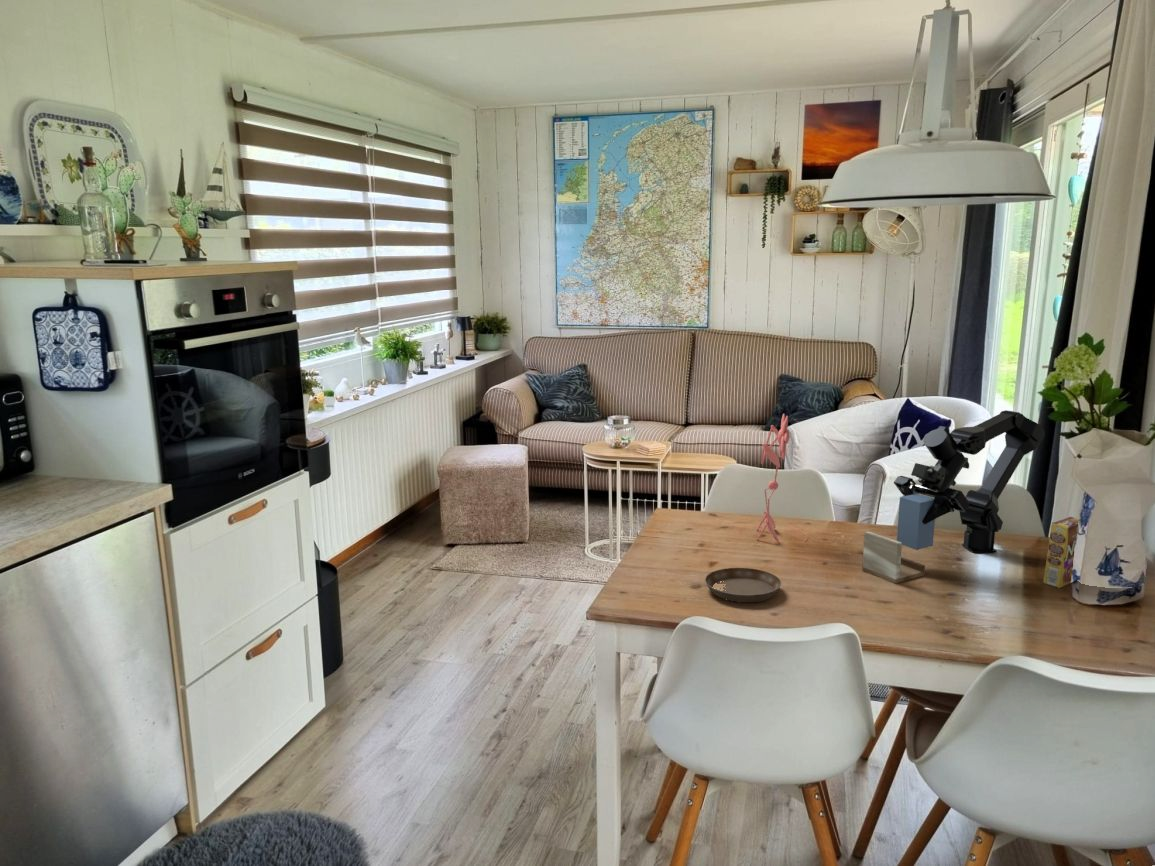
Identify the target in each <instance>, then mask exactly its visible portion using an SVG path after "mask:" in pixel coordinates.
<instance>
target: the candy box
mask: <svg viewBox="0 0 1155 866" xmlns="http://www.w3.org/2000/svg"><path fill="white" fill-rule="evenodd" d="M1079 519H1080V518H1078V517H1073V516H1069V517H1066V518H1064V519H1063V518H1062V519H1061V520H1058V521H1055V522H1051V523H1050V532H1049V539H1048V540H1049V541H1048V546H1047V555H1046V562H1045V569H1044V575H1043V584H1045V585H1049V586H1052V587H1054V588H1058V589H1060V588H1063V587H1066V586H1068V585H1070V584H1071V583H1070V581H1071V574H1072V568H1073V558H1074V548H1075V540H1076V535H1077V529H1078V521H1079Z"/></svg>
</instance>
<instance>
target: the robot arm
mask: <svg viewBox="0 0 1155 866" xmlns="http://www.w3.org/2000/svg"><path fill="white" fill-rule="evenodd" d="M1004 433H1005V435H1004V439H1005V440H1004V441H1005V447H1004V448H1003V450H1002V451H1001V453H1000V455H999V457H998V458H997V460H996V462H995V463H994V465H993V467H992V468H991V469H990V472H989V473H988V475H987V476H986V478H985V480H984V482H983V483H982V485H981V486H980V488H979V489H977V490H973V489H969V490H968V491H967V493H966V495H965V494H964V493H963V491H962V490H959V489H954V488H951V486H952V487H955V486H956V484H957V482H956V478H957V477H958V475H959V473H960V472H961V470H962V469H968V470H969V468H970V463H969V458H968V457H967V456H966V457H965V456H964V454H968V455H972V456H974V455H978V454H979V453H980V452H981V451H982V450H983V449H985V448H986V444H987V442H989V441H991V440H993V439H995V438H996V437H999V436H1001V435H1002V434H1004ZM1045 434H1046V432H1045V430H1044V429H1043V427H1042V425H1041V424H1040V423H1037V422H1035V421H1033V420H1032V419H1031V418H1028V417H1026V416H1024V414H1023V413H1020V412H1018V411H1013V410H1002V411H1000V412H999V414H997V415H994V416H992V417H990V418H989V419H987V420H984V421H983V422H980V423H978V424H976V425H973V426H963V427H959V428H954V429H953V430H952V431H951V432H950V430H949V428H948V427H947V426H942V425H939V426H938V427H937V428H936V429H932V430H931V431H928V433H926V434H925V435H924V437H923V439H922V442H923V444H924V446H925V447H926V448H927V450H928V452H929V453H930V454H931V456H932V457H933V459H935V460H937V461H936V463H935V464H934V466H933V465H925V464H923V463H922V464H921V463H917V462H915V463H914V465H913V469H912V471H911V473H910V476H912V477H913V476H915V477H916V478H918V479H917V481H918V483H919V484H921V485H919V484H917V483H916V482H915V480H914V479H913V478H912V477H908V476H904V475H898V476H896V478H895V480H894V481H893V484H894V485H895V486H896V488H897V489H898V490H899V492H900V493H901V494H902V496H908V495H912V494H919V495H923V496H926V497H930V498H933V499H934V503H933V505H932V506H931V508H930V509H929V511H928V512H927V514H926V515H925V517H924V519H923V521H922V522H923V524H927V523H929V522H931V521H932V520H934V519H935V520H936V519H938V518H940V517H942V516H944V515H946V514H949V513H954V512H955V511H957V512H959V516H960V521H961V525H965V526H966V530H965V531H963V532H964V533H963V534H964V535H963V543H961V545H962V546H963V547H964V548H965V549H967V550H968V551H970V552H971V553H973V554H976V553H977V554H981V553H984V554H985V553H991V554H992V553H998V551H997V550H998V549H995V538H996V533H998V532H999V531H1000V530H1002V527H1003V524H1004V523H1003V520H1002V518H1001V517H1000V515H998V512H999V510H1000V509H999V508H1000V507H999V506H1000V505H999V498H1000V496H1001V494H1002V492H1003V491H1004V490H1005V487H1007V485H1008V483H1009V481H1010V479H1011V478H1012V476H1013V474H1014V473H1015V471H1016V470H1017V468H1018V466H1019V465H1020V463H1021V461H1022V460H1023V458H1024V457H1025V456H1026V455H1028V454H1030V453H1031V452H1032V451H1035V450H1037V448H1038V446H1039V445H1040V443H1042V441H1044V438H1045V436H1046V435H1045Z"/></svg>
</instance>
